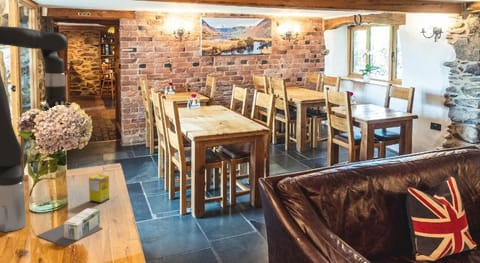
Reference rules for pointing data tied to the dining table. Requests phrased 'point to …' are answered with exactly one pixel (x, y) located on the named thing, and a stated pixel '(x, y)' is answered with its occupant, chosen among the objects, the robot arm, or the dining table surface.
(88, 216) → the syrup box
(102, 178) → the supplement box
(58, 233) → the charcoal mat
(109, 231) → the dining table surface
